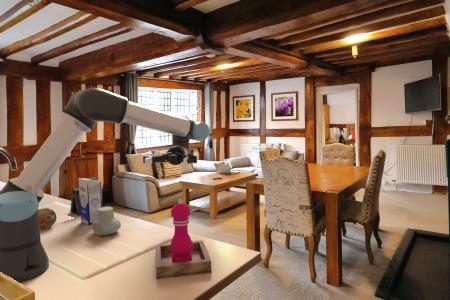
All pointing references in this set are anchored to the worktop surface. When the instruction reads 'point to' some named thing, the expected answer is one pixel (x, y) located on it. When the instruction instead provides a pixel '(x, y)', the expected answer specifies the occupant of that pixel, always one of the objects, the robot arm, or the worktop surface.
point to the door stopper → (75, 202)
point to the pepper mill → (181, 233)
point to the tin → (46, 218)
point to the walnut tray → (170, 269)
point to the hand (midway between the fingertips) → (165, 162)
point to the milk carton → (90, 199)
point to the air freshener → (106, 222)
